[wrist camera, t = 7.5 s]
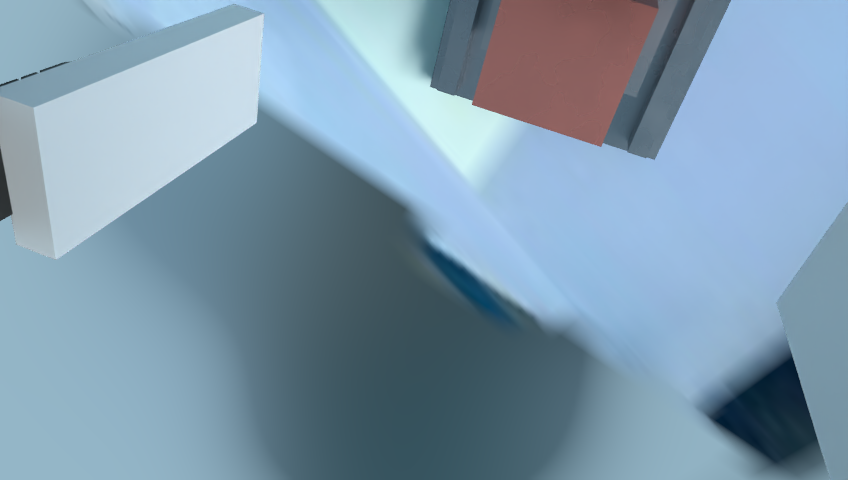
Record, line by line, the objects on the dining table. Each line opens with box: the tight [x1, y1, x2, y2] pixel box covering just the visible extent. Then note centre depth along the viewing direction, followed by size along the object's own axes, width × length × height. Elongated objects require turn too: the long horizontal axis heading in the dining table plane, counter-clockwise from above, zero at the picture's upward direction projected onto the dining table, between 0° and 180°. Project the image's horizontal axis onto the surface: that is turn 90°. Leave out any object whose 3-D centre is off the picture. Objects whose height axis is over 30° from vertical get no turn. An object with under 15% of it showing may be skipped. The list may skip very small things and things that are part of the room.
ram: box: [472, 0, 678, 147], centre depth 26 cm, size 8×8×11 cm
